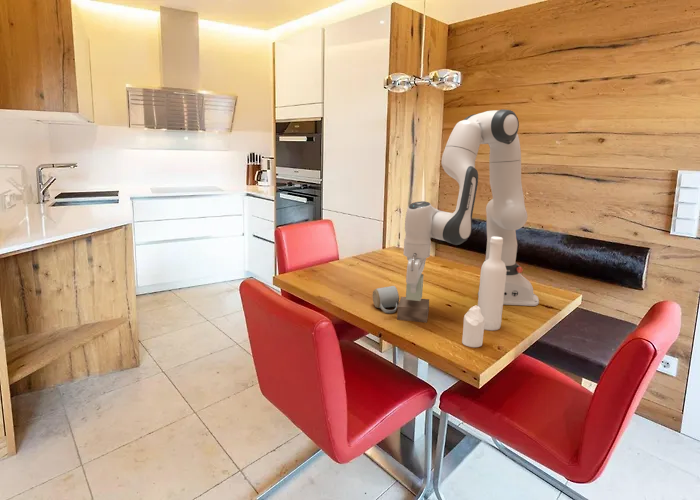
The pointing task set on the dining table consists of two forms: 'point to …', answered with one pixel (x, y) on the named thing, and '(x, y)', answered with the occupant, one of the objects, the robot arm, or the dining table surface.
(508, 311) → the dining table surface
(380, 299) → the ceramic mug
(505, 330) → the dining table surface
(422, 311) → the walnut block
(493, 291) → the bottle
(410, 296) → the sage block
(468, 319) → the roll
